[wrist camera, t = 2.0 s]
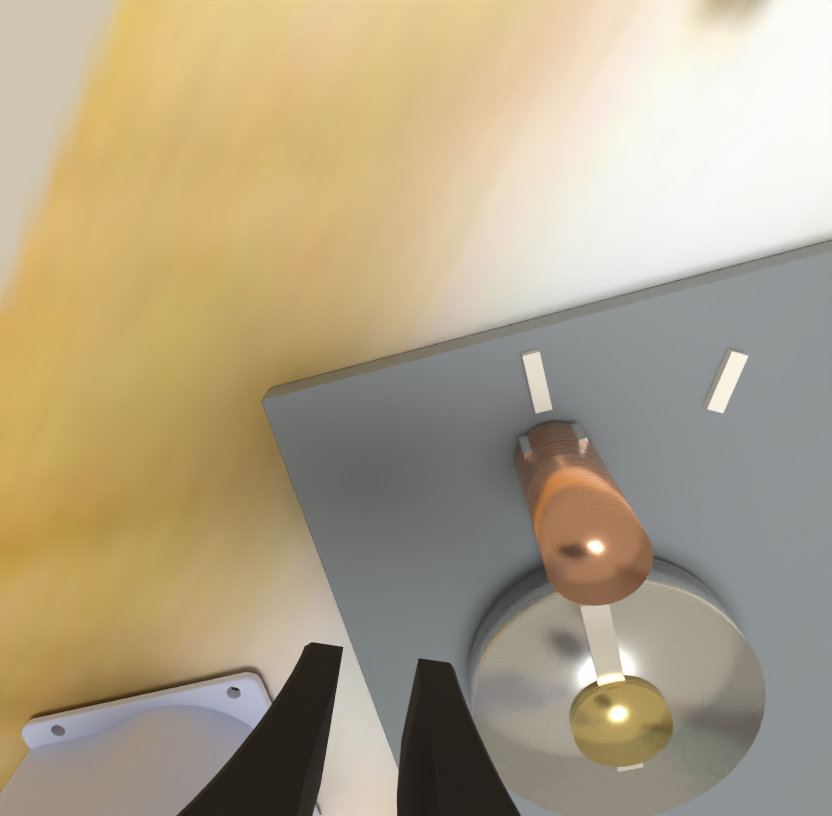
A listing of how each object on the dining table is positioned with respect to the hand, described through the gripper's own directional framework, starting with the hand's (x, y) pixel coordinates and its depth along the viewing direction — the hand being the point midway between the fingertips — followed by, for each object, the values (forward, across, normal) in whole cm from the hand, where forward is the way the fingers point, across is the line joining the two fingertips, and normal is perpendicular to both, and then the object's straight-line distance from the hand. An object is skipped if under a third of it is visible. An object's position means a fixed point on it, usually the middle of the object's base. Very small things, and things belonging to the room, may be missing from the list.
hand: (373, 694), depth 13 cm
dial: (+8, -7, +3) cm, 11 cm away
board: (+10, -9, +4) cm, 14 cm away
